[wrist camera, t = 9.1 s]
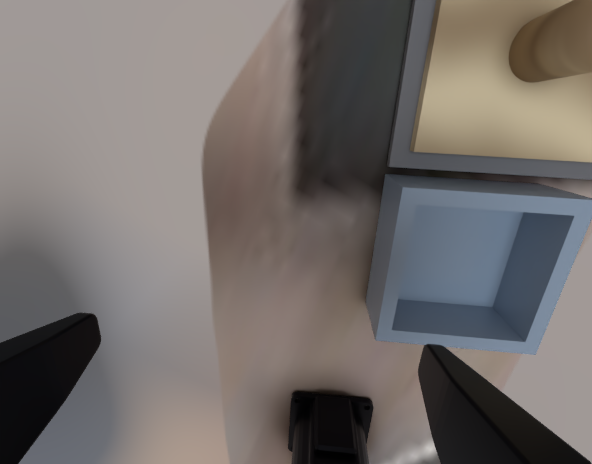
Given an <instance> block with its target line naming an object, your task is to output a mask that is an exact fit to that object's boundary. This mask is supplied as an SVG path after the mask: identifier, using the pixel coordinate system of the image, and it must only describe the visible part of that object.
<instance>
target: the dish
mask: <svg viewBox="0 0 592 464" xmlns="http://www.w3.org/2000/svg"><path fill="white" fill-rule="evenodd" d="M591 219H592V198H588V197H585V196H581V195H578V194H574V193H571V192H567V191H563V190H560V189H556V188H553V187H549V186H546V185H542V184H534V183H518V182H503V181H488V180H472V179H457V178H442V177H426V176H411V175H396V174H385V180H384V186H383V193H382V199H381V205H380V212H379V218H378V225H377V231H376V237H375V244H374V250H373V257H372V263H371V270H370V276H369V282H368V289H367V295H366V306H367V310H368V314H369V317H370V321H371V325H372V329H373V333H374V336H375V340H377V341H388V342H399V343H410V344H421V345H426V344H437V345H442V346H444V347H455V348H466V349H477V350H488V351H499V352H510V353H521V354H533V355H535V354H536V352H537V350H538V347H539V345H540V343H541V340H542V338H543V335H544V333H545V330H546V328H547V326H548V323H549V321H550V318H551V316H552V313H553V311H554V309H555V306H556V304H557V301H558V299H559V296H560V294H561V292H562V289H563V287H564V284H565V282H566V280H567V277H568V275H569V272H570V270H571V267H572V265H573V263H574V260H575V258H576V255H577V253H578V250H579V248H580V246H581V243H582V241H583V238H584V236H585V233H586V231H587V229H588V226H589V224H590V221H591Z"/></svg>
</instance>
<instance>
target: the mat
mask: <svg viewBox="0 0 592 464" xmlns="http://www.w3.org/2000/svg"><path fill="white" fill-rule="evenodd" d="M435 5H436V0H412V7H411V13H410V19H409V26H408V32H407V39H406V45H405V52H404V58H403V64H402V71H401V77H400V84H399V90H398V96H397V103H396V109H395V116H394V122H393V128H392V135H391V141H390V148H389V154H388V161H387V166H388V167H399V168H415V169H431V170H446V171H462V172H477V173H493V174H509V175H524V176H540V177H556V178H571V179H587V180H592V162H576V161H559V160H543V159H526V158H509V157H493V156H476V155H459V154H443V153H426V152H413V151H410V146H411V140H412V134H413V129H414V123H415V118H416V112H417V106H418V101H419V95H420V89H421V84H422V78H423V72H424V67H425V61H426V55H427V50H428V44H429V39H430V33H431V27H432V22H433V16H434V10H435Z"/></svg>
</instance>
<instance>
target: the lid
mask: <svg viewBox="0 0 592 464" xmlns="http://www.w3.org/2000/svg"><path fill="white" fill-rule="evenodd" d="M410 151H413V152H426V153H443V154H459V155H476V156H493V157H509V158H526V159H543V160H559V161H576V162H592V0H436V5H435V10H434V16H433V22H432V27H431V33H430V39H429V44H428V50H427V55H426V61H425V67H424V72H423V78H422V84H421V89H420V95H419V101H418V106H417V112H416V118H415V123H414V129H413V134H412V140H411V146H410Z"/></svg>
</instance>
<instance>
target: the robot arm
mask: <svg viewBox="0 0 592 464" xmlns="http://www.w3.org/2000/svg"><path fill="white" fill-rule="evenodd" d="M100 342H101V335H100V330H99V325H98V320H97V317H96V316H95V315H94V314H91V313H76V314H74V315H71V316H69V317H66V318H64V319H61V320H58V321H56V322H53V323H50V324H48V325H45V326H43V327H40V328H37V329H35V330H32V331H30V332H27V333H25V334H22V335H19V336H17V337H14V338H12V339H9V340H6V341H4V342H1V343H0V464H18V463H19V462H20V461H21V459H22V458H23V457H24V455H25V454H26V453H27V451H28V450H29V449H30V447H31V446H32V445H33V443H34V442H35V441H36V439H37V438H38V437H39V435H40V434H41V433H42V431H43V430H44V429H45V427H46V426H47V425H48V423H49V422H50V421H51V419H52V418H53V417H54V415H55V414H56V413H57V411H58V410H59V408H60V407H61V406H62V404H63V403H64V401H65V400H66V399H67V397H68V396H69V394H70V393H71V391H72V389H73V388H74V386H75V385H76V383H77V381H78V380H79V378H80V376H81V375H82V373H83V372H84V370H85V369H86V367H87V365H88V364H89V362H90V360H91V359H92V357H93V356H94V354H95V353H96V351H97V349H98V347H99V345H100ZM418 376H419V381H420V385H421V390H422V394H423V399H424V403H425V408H426V412H427V416H428V421H429V425H430V430H431V434H432V438H433V441H434V444H435V447H436V450H437V453H438V456H439V459H440V462H441V464H591V462H590V461H589V460H587V459H586V458H585V457H583V456H582V455H581V454H580V453H579V452H577V451H576V450H575V449H574V448H572V447H571V446H570V445H569V444H567V443H566V442H565V441H563V440H562V439H561V438H560V437H558V436H557V435H556V434H554V433H553V432H552V431H551V430H549V429H548V428H547V427H546V426H544V425H543V424H541V422H539V421H538V420H537V419H535V418H534V417H533V416H532V415H530V414H529V413H528V412H527V411H525V410H524V409H523V408H521V407H520V406H519V405H517V404H516V403H515V402H514V401H512V400H511V399H510V398H509V397H507V396H506V395H505V394H504V393H502V392H501V391H500V390H499V389H497V388H496V387H495V386H493V385H492V384H491V383H490V382H488V381H487V380H486V379H485V378H483V377H482V376H481V375H479V374H478V373H477V372H476V371H474V370H473V369H472V368H471V367H469V366H468V365H467V364H465V363H464V362H463V361H462V360H460V359H459V358H458V357H457V356H455V355H454V354H453V353H451V352H450V351H449V350H448V349H446V348H445V347H444V346H442V345H437V344H426V345H425V346H424V348H423V351H422V355H421V359H420V363H419V368H418ZM296 398H298V399H296ZM366 405H367V406H366ZM372 412H373V404H372V401H371V400H370V399H365V398H355V397H345V396H335V395H325V394H315V393H305V392H294V393H293V394H292V398H291V412H290V427H289V443H288V449H289V450H290V451H291V452H292V463H291V464H369V460H368V453H367V446H366V443H367V438H368V433H369V428H370V422H371V417H372Z"/></svg>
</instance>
